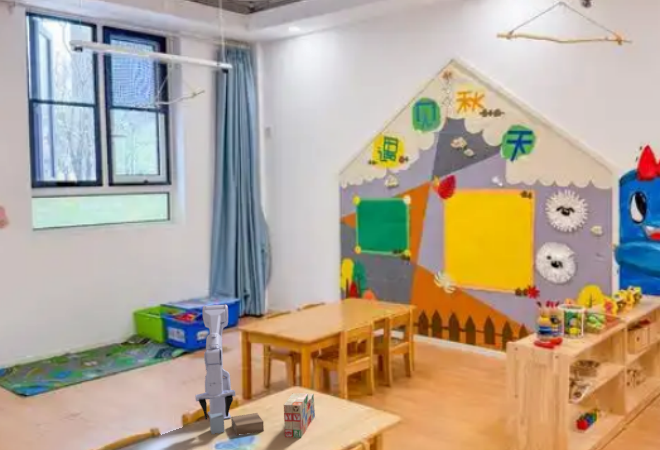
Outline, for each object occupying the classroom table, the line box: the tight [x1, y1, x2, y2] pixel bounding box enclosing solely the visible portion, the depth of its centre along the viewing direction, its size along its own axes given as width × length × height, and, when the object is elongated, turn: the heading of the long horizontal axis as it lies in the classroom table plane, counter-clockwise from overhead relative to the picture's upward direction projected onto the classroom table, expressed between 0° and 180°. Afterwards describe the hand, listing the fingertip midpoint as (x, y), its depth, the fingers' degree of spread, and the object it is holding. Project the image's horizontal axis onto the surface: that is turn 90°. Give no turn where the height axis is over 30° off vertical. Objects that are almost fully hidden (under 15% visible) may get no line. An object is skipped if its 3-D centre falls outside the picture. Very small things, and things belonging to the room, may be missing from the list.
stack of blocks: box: [283, 392, 316, 439], centre depth 252 cm, size 21×6×12 cm, turn 168°
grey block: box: [208, 413, 225, 435], centre depth 251 cm, size 5×5×6 cm
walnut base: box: [230, 412, 265, 436], centre depth 253 cm, size 10×10×4 cm
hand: (216, 417), depth 251 cm, fingers open, 7 cm apart
